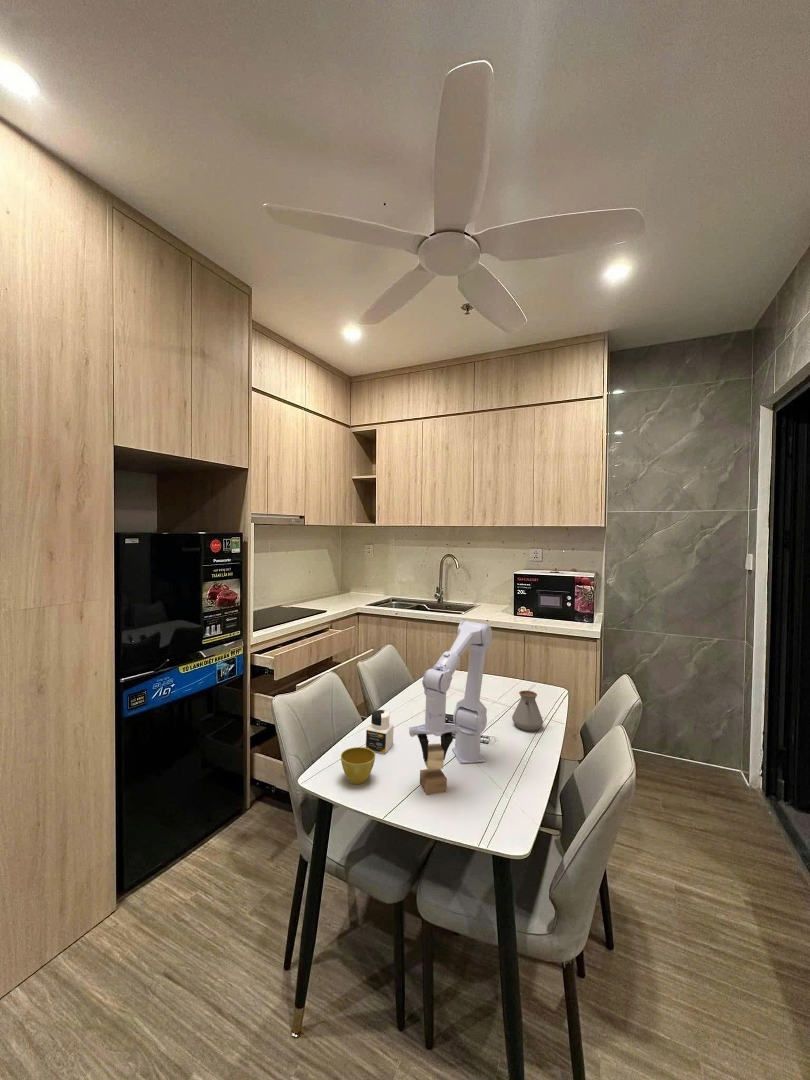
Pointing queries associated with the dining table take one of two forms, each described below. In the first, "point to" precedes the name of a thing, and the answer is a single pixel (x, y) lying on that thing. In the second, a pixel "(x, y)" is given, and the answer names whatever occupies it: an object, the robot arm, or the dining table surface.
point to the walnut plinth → (433, 781)
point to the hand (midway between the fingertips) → (433, 759)
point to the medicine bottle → (379, 732)
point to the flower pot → (357, 764)
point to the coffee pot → (527, 712)
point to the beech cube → (435, 757)
